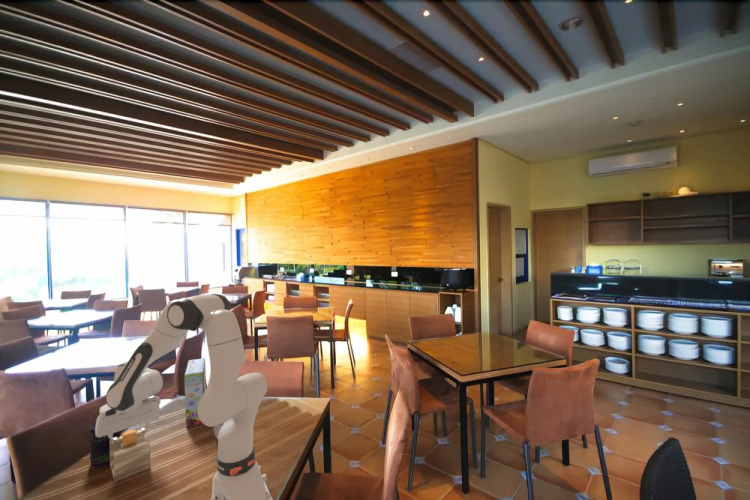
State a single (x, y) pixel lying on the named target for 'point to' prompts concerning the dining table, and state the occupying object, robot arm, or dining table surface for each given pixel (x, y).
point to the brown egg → (129, 438)
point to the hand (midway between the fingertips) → (129, 438)
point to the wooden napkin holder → (129, 457)
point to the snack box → (194, 389)
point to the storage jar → (100, 448)
